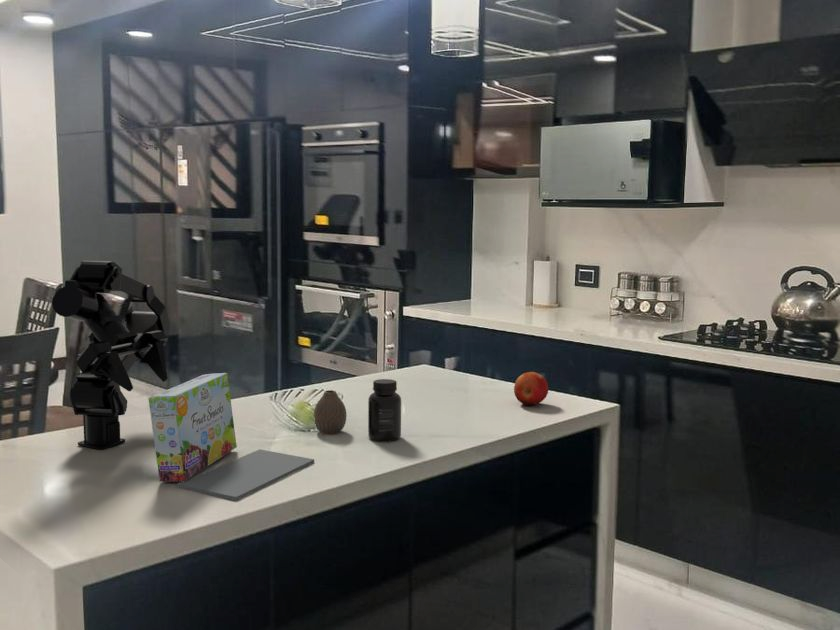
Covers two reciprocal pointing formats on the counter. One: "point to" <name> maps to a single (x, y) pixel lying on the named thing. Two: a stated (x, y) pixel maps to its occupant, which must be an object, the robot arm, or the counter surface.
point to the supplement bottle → (384, 411)
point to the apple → (530, 388)
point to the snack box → (192, 426)
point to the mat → (245, 474)
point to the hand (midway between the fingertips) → (148, 385)
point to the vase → (330, 413)
